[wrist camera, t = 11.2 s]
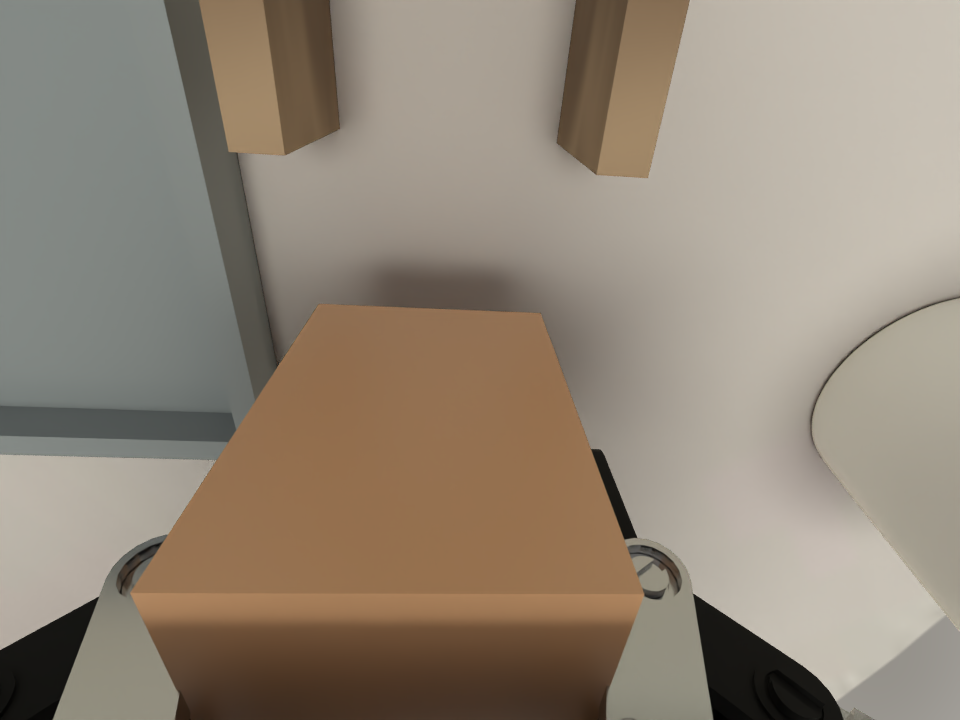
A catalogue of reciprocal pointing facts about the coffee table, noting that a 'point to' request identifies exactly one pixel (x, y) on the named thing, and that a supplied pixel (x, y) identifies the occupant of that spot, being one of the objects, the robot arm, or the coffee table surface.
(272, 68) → the frame
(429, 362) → the peach slab with tab
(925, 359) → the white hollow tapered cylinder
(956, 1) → the coffee table surface
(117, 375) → the tray
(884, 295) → the coffee table surface
